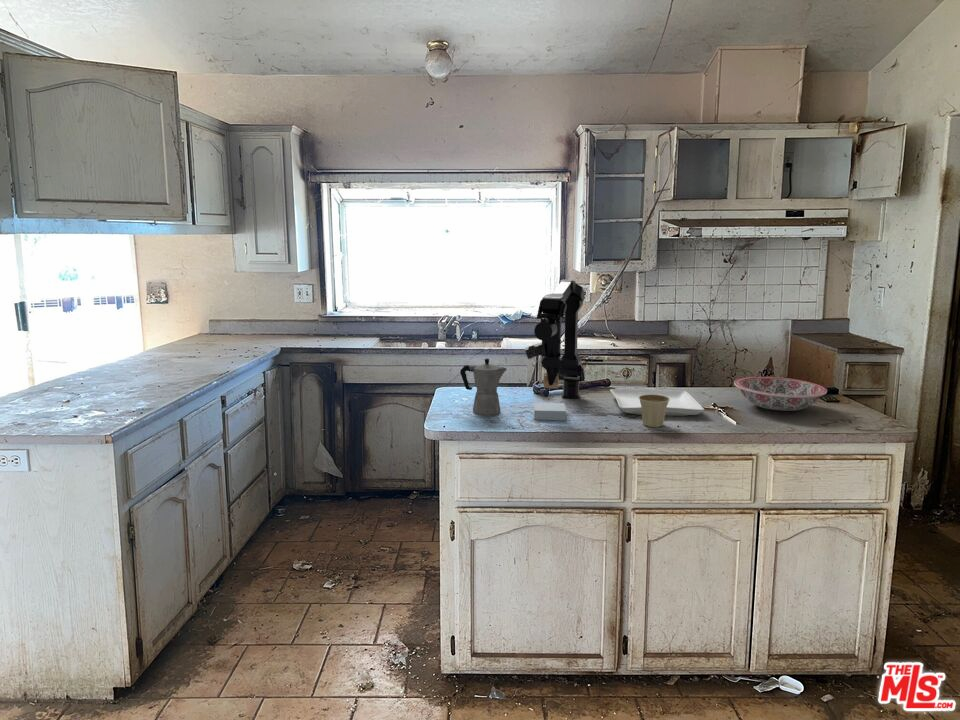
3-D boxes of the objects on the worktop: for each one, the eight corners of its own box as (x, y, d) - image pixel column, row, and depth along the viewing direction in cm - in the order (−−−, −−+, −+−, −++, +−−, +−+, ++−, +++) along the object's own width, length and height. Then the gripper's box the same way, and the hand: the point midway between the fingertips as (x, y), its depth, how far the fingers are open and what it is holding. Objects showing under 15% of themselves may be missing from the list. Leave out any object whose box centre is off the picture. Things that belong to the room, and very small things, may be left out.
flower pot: (646, 430, 209) (648, 402, 208) (631, 421, 218) (633, 395, 217) (674, 427, 212) (675, 400, 210) (658, 419, 221) (659, 393, 219)
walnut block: (543, 384, 225) (544, 372, 224) (557, 385, 225) (557, 373, 224) (543, 388, 221) (544, 375, 220) (557, 388, 220) (558, 376, 220)
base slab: (534, 411, 230) (534, 402, 229) (564, 412, 229) (564, 403, 228) (534, 419, 220) (534, 410, 219) (565, 420, 219) (565, 411, 219)
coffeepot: (506, 408, 234) (507, 356, 230) (506, 415, 224) (507, 361, 221) (461, 407, 234) (461, 355, 231) (459, 414, 225) (459, 360, 222)
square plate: (704, 420, 222) (705, 408, 221) (619, 418, 224) (620, 406, 223) (685, 399, 249) (686, 389, 248) (609, 397, 250) (609, 387, 250)
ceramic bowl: (741, 394, 255) (742, 373, 254) (828, 405, 241) (830, 382, 239) (724, 411, 231) (726, 388, 229) (820, 425, 216) (823, 400, 215)
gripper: (527, 331, 229) (526, 376, 232) (526, 340, 211) (525, 389, 214) (560, 331, 228) (559, 377, 231) (562, 340, 210) (561, 390, 213)
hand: (550, 383), depth 223 cm, fingers closed on walnut block, 4 cm apart
